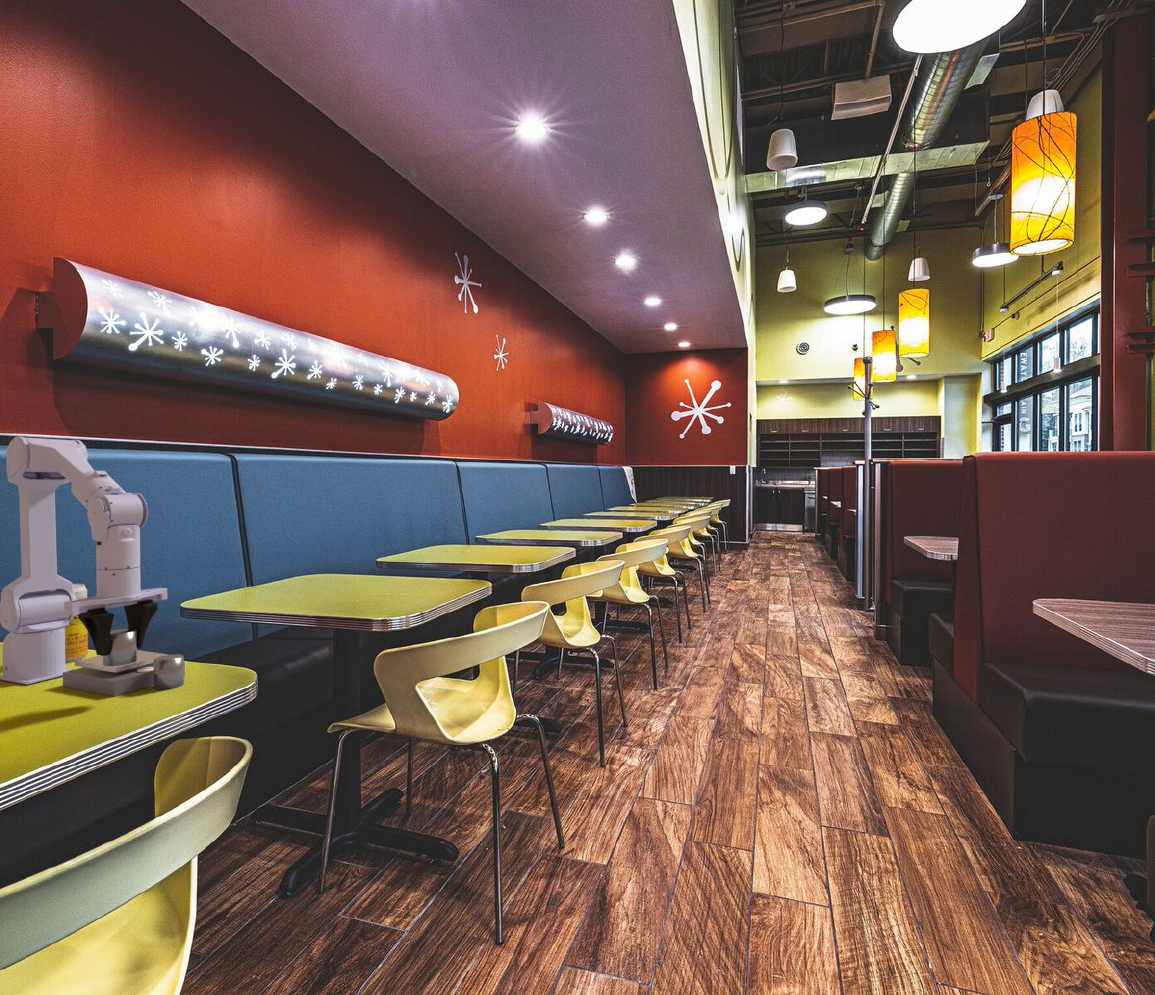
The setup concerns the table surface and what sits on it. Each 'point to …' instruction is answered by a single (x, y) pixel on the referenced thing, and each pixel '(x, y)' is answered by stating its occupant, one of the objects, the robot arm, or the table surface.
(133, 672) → the scale base
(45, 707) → the table surface
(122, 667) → the scale pan
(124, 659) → the steel weight
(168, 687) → the cylinder
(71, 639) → the beer can
